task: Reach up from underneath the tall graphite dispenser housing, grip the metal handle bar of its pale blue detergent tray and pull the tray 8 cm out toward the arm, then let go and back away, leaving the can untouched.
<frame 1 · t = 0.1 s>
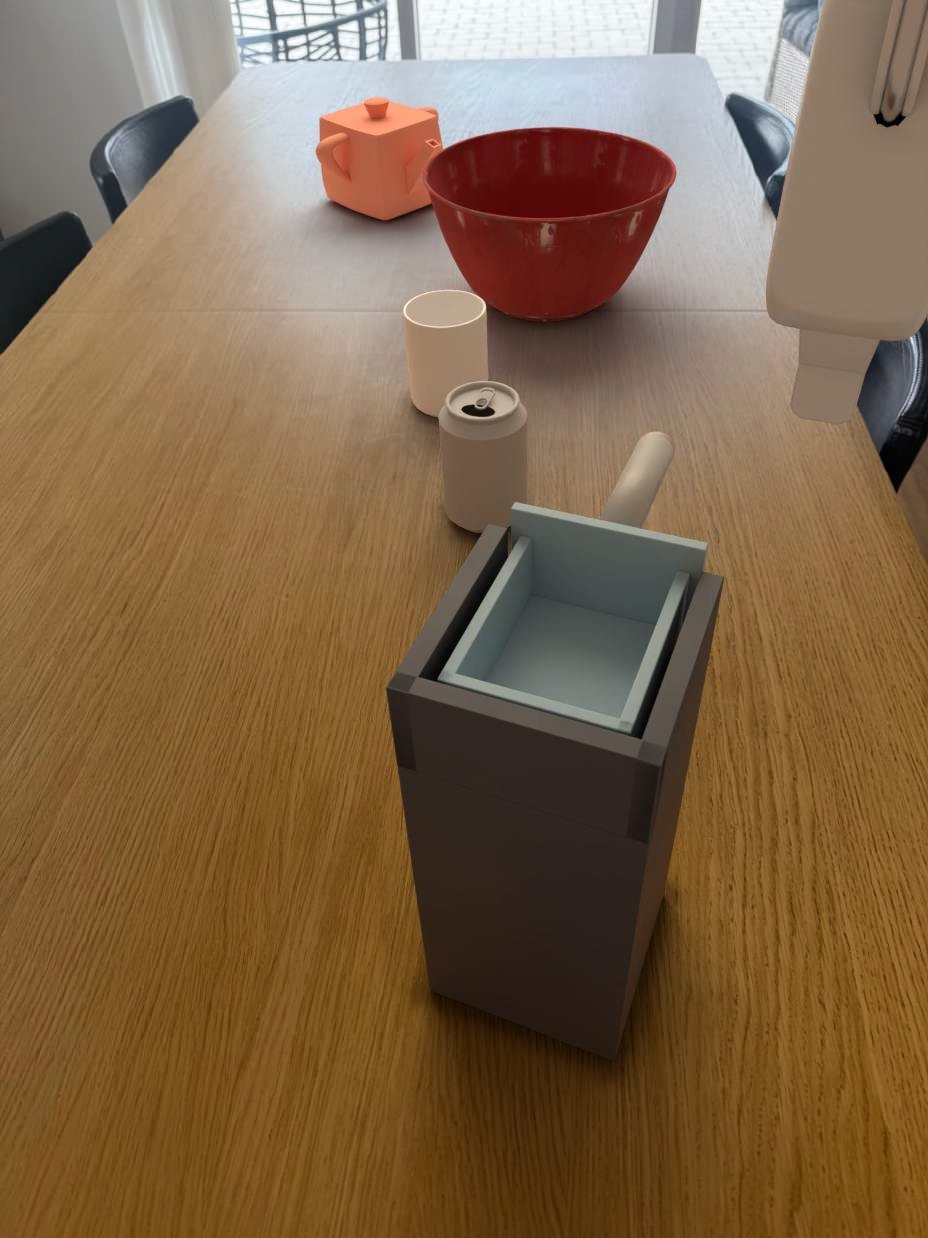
hand: (841, 337, 32), 38 cm above the table, tool pointing down, fingers open, 8 cm apart
mug: (456, 392, 104), on the table
teapot: (396, 206, 143), on the table
dispenser housing: (550, 940, 58), on the table
detergent tray: (590, 600, 44), point 24 cm above the table, slide at 0.0 cm
mixing bowl: (546, 298, 119), on the table
can: (486, 515, 88), on the table
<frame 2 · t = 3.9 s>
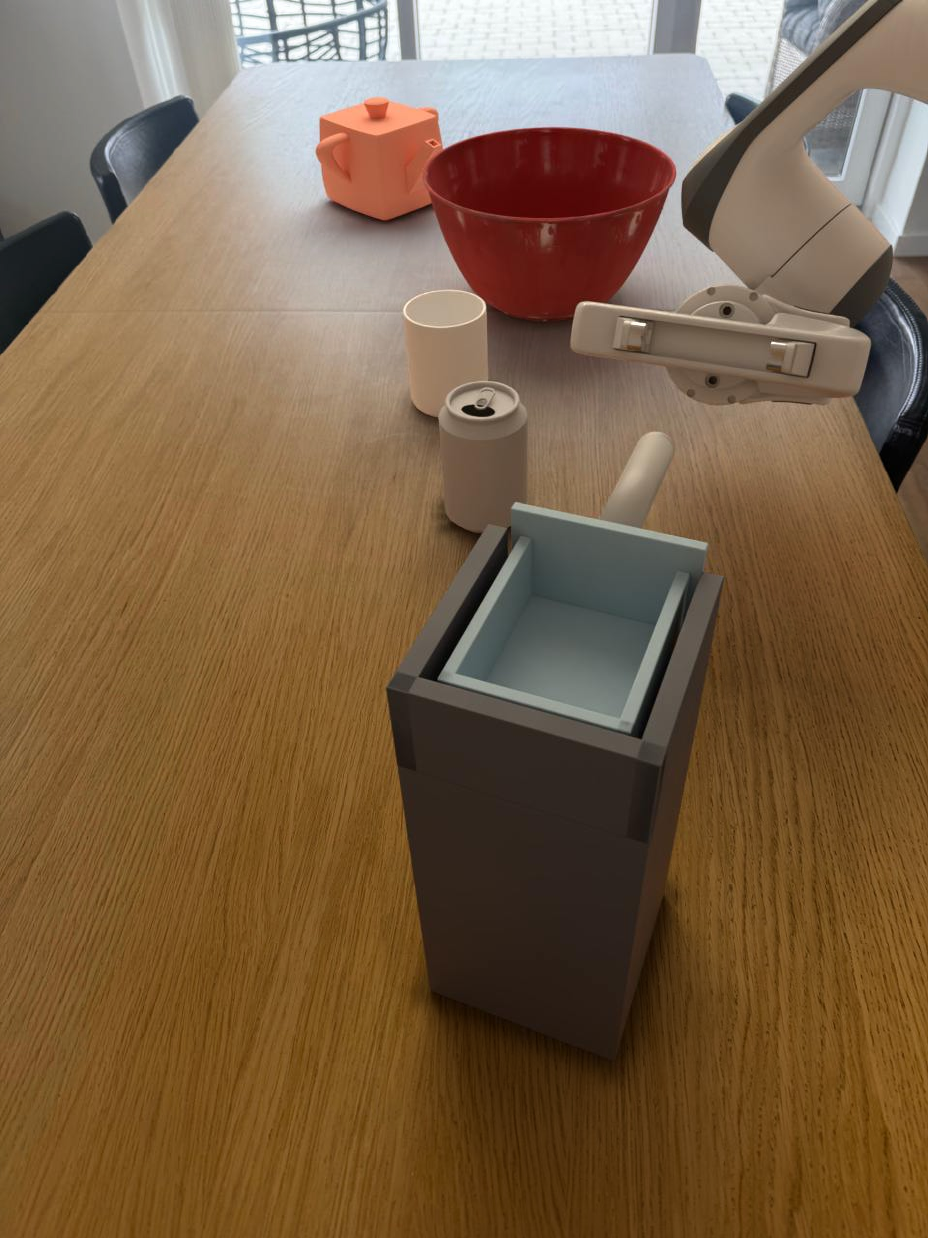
hand: (704, 346, 62), 23 cm above the table, tool pointing upward, fingers open, 8 cm apart
nothing on the table moved.
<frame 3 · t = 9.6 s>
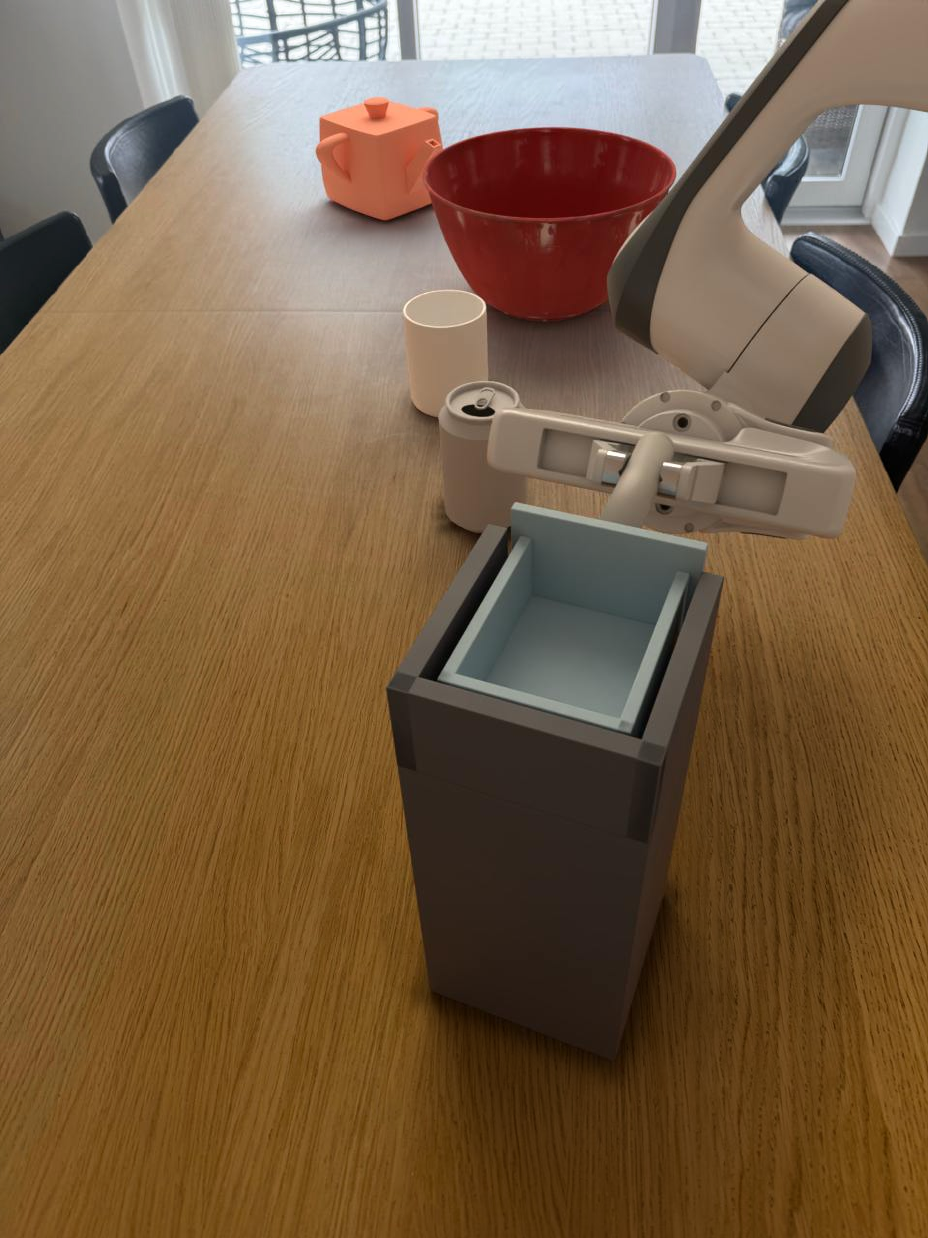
hand: (640, 476, 48), 25 cm above the table, tool pointing upward, fingers closed on detergent tray, 2 cm apart
detergent tray: (590, 600, 44), point 24 cm above the table, slide at 0.0 cm, touching gripper
everything else where it was.
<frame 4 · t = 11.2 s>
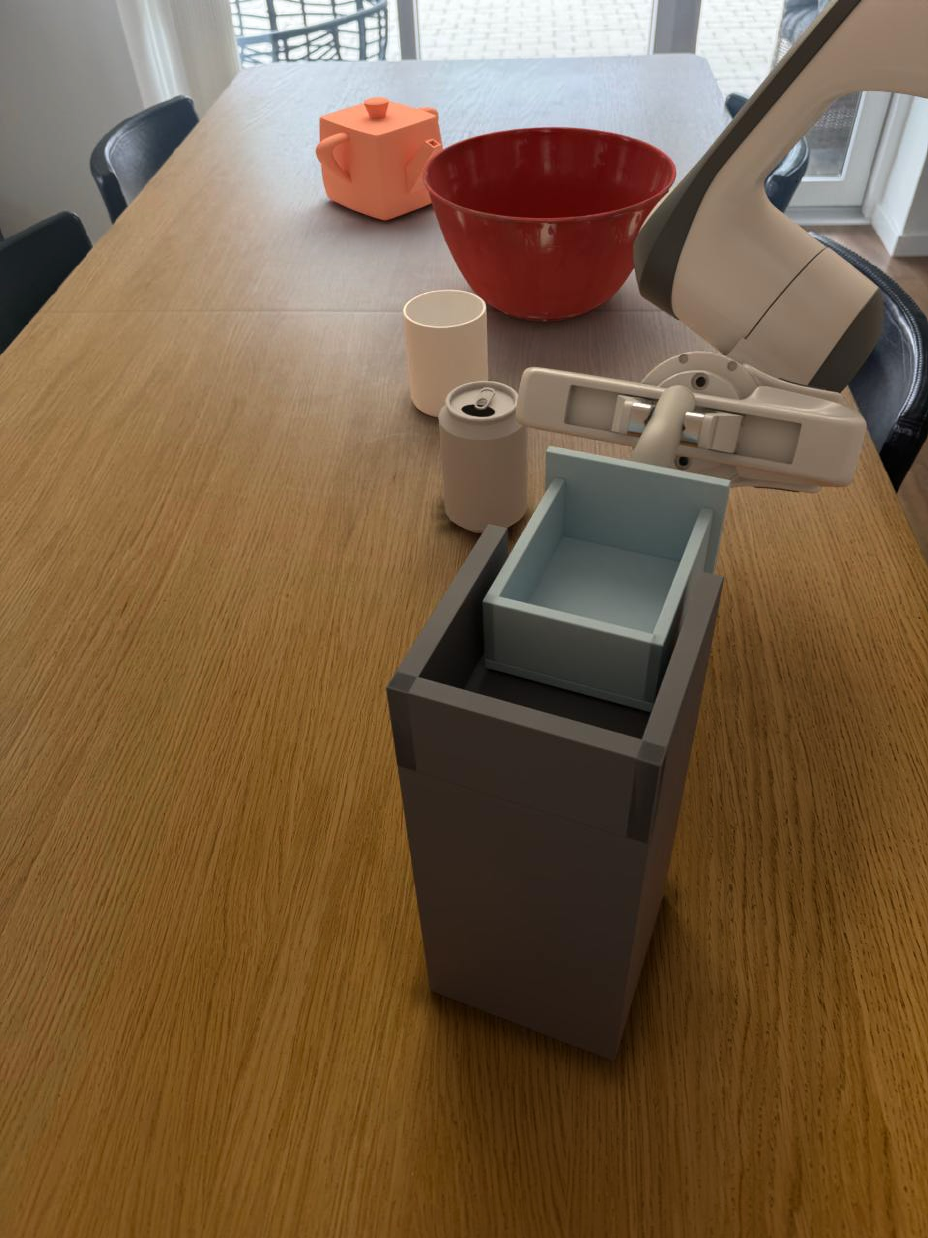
hand: (664, 425, 51), 25 cm above the table, tool pointing upward, fingers closed on detergent tray, 2 cm apart
detergent tray: (620, 536, 47), point 24 cm above the table, slide at 4.9 cm, touching gripper
everything else where it was.
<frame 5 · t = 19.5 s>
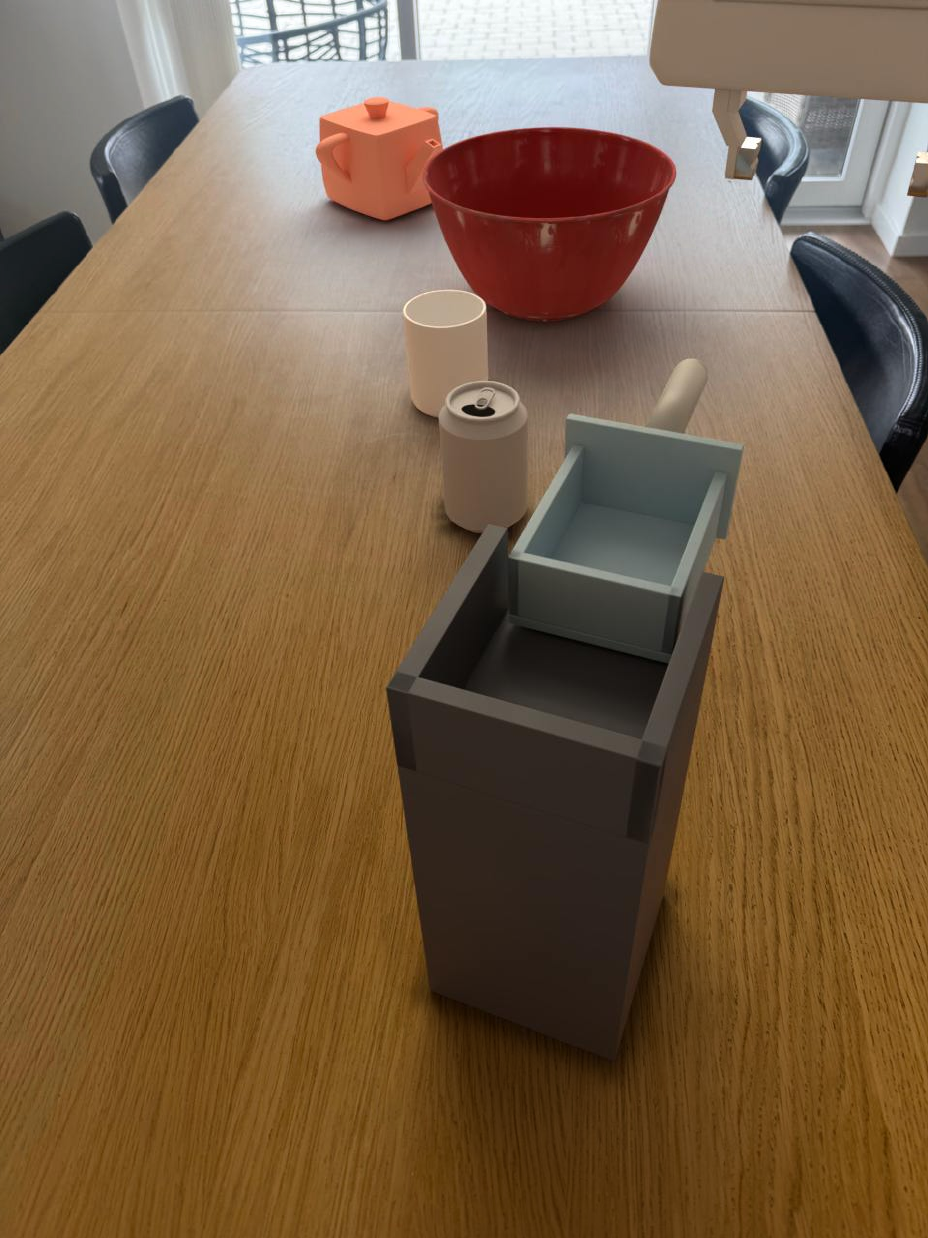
hand: (828, 184, 52), 34 cm above the table, tool pointing down, fingers open, 8 cm apart
detergent tray: (637, 499, 49), point 24 cm above the table, slide at 8.1 cm
everything else where it was.
at the end: detergent tray slide at 8.1 cm; can moved 0.2 cm from its start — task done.
